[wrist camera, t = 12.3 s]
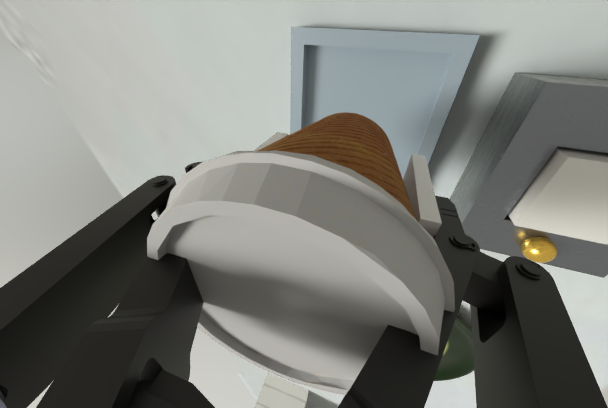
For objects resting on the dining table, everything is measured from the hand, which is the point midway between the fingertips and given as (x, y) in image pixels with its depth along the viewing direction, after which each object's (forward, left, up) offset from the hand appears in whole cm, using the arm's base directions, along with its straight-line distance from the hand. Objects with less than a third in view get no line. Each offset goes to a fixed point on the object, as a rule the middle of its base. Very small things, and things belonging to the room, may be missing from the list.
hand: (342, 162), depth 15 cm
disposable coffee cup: (0, 0, -1) cm, 1 cm away
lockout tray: (0, 0, -10) cm, 10 cm away
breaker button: (+2, +17, -10) cm, 20 cm away
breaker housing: (+2, +17, -10) cm, 20 cm away
